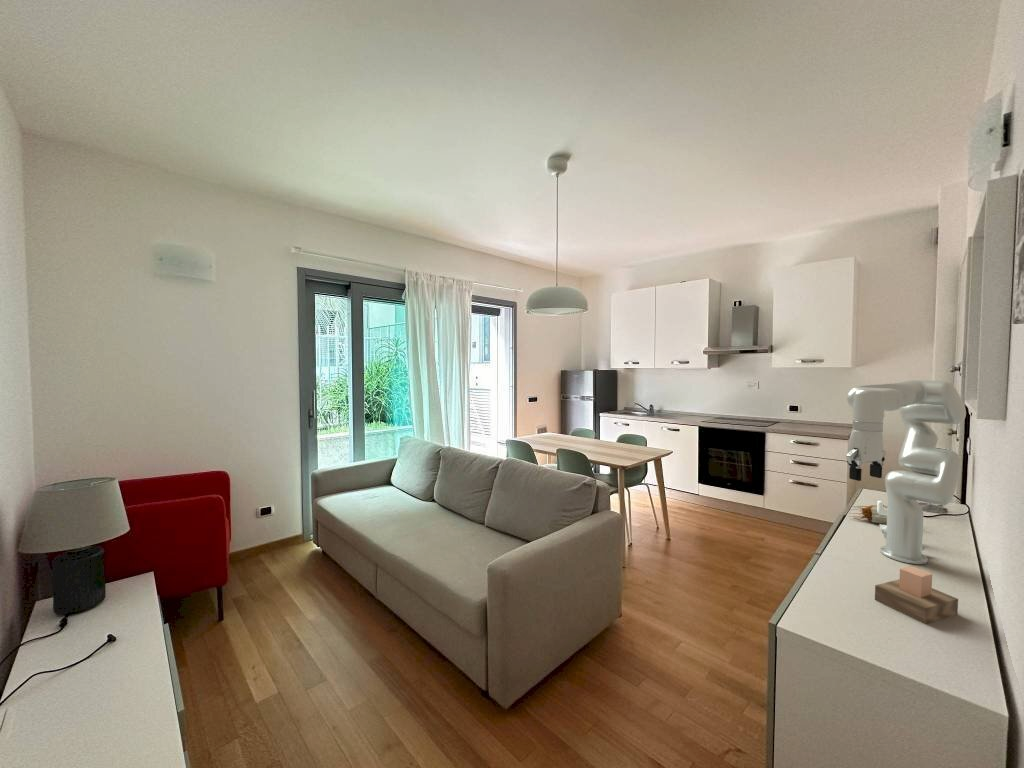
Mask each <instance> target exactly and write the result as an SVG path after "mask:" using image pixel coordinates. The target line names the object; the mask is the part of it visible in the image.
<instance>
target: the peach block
mask: <svg viewBox="0 0 1024 768" xmlns="http://www.w3.org/2000/svg"><path fill="white" fill-rule="evenodd" d="M899 579H900V580H899V589H902V590H904V591H906V592H909V593H911V594H913V595H916V596H918V597H920V598H921V597H924V596H928V595H931V591H932V588H933V574H932V573H930V572H928V571H925V570H922V569H920V568H917V567H914V566H911V565H909V566H906V567H905V566H904V567H901V568H900V569H899Z"/></svg>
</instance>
